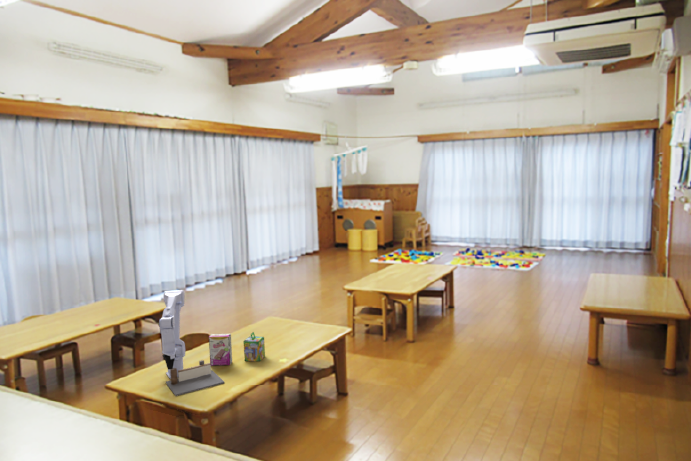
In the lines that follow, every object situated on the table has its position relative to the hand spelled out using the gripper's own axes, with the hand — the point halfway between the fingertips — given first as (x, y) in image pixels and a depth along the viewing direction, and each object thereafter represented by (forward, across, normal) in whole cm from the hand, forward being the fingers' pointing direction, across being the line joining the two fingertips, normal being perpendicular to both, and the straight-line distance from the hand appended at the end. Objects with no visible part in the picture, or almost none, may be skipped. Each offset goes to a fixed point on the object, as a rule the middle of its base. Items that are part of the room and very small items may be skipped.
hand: (170, 368), depth 230 cm
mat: (+9, -2, -11) cm, 14 cm away
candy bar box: (+10, +14, -30) cm, 34 cm away
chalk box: (+10, +10, -48) cm, 50 cm away
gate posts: (+9, +3, -9) cm, 13 cm away
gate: (+8, +2, -12) cm, 15 cm away
